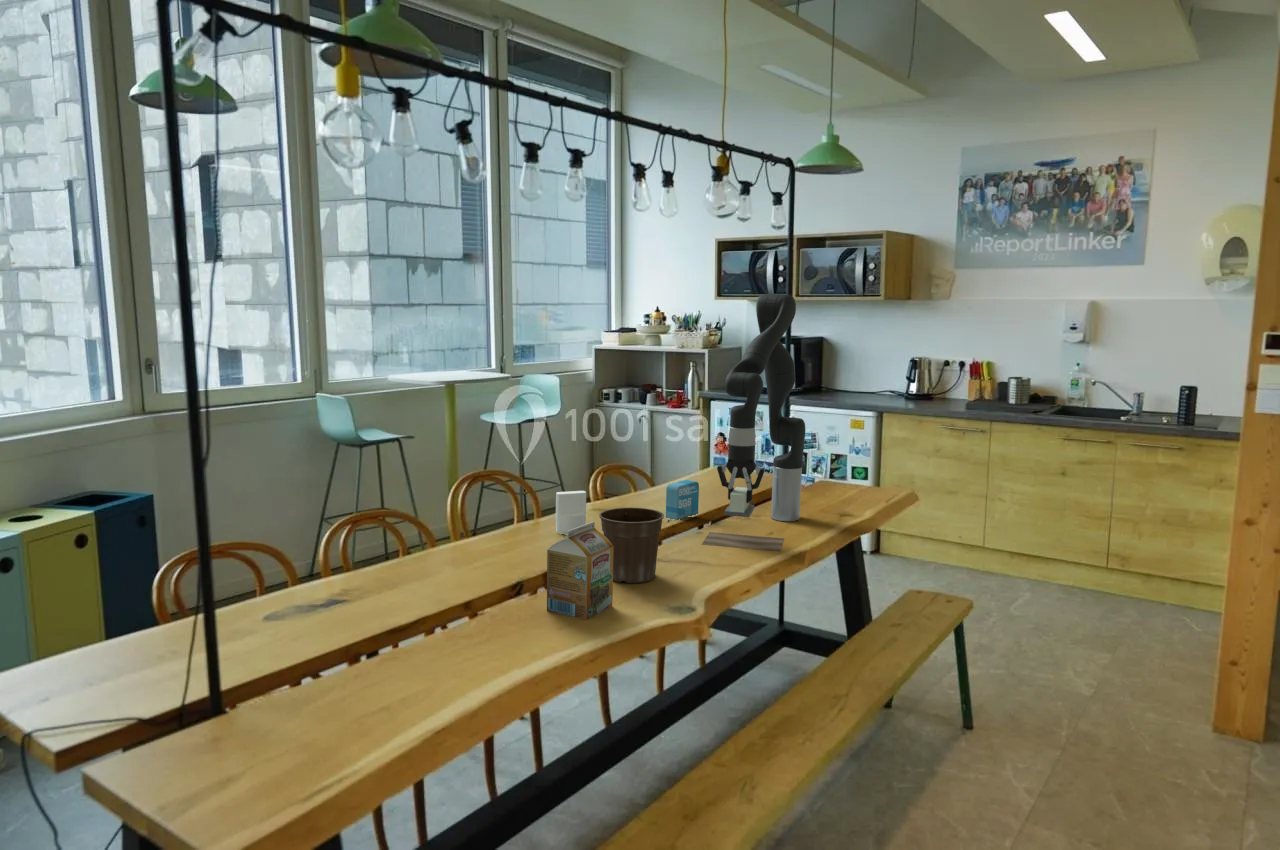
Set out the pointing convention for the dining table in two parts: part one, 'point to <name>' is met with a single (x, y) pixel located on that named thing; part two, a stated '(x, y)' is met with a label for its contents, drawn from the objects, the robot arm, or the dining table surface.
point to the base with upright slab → (570, 510)
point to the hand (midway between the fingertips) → (739, 501)
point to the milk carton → (580, 573)
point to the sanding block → (739, 503)
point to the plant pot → (633, 542)
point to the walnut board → (743, 541)
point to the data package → (682, 499)
